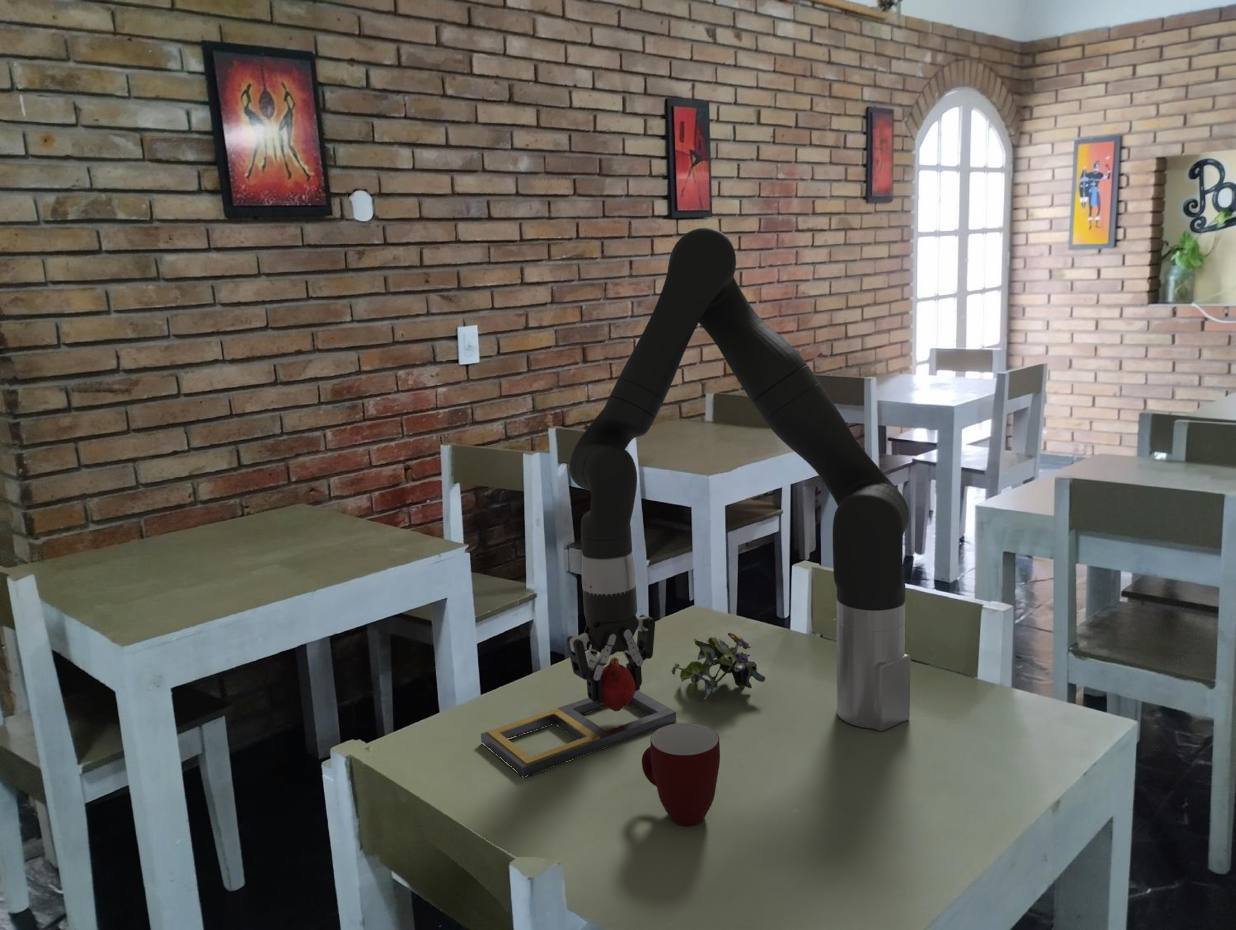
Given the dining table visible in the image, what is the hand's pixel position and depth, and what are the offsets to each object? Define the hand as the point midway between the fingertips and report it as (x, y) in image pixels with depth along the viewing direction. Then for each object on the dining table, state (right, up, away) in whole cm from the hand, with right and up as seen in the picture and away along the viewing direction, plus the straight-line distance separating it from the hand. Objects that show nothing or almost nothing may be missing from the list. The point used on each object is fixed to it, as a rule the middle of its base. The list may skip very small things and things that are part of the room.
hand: (615, 695), depth 138 cm
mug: (+8, -9, -23) cm, 26 cm away
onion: (0, -3, 0) cm, 3 cm away
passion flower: (+16, -2, +8) cm, 18 cm away
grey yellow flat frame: (-5, -5, -2) cm, 7 cm away
